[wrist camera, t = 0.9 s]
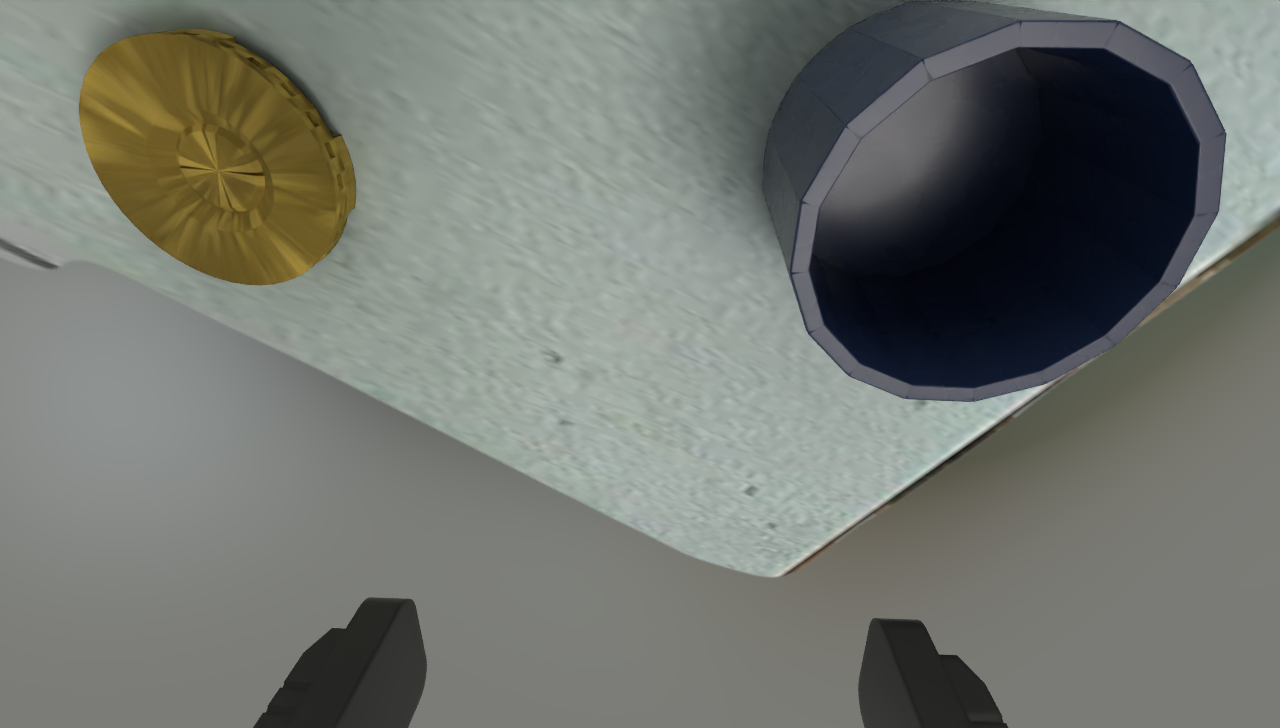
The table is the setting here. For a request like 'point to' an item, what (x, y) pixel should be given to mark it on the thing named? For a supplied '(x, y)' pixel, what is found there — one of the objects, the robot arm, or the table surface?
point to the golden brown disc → (216, 155)
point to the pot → (987, 193)
